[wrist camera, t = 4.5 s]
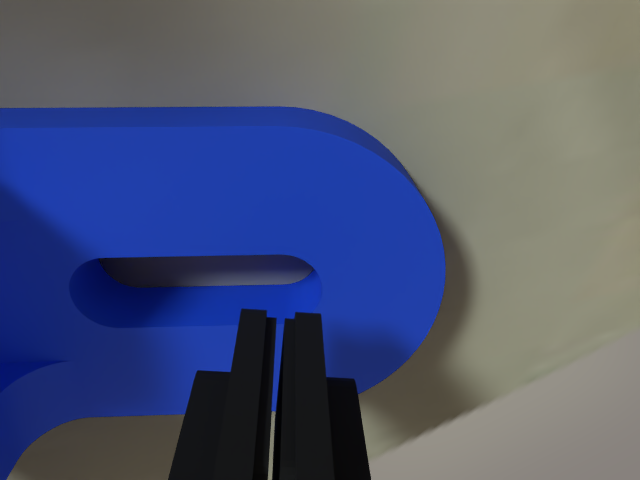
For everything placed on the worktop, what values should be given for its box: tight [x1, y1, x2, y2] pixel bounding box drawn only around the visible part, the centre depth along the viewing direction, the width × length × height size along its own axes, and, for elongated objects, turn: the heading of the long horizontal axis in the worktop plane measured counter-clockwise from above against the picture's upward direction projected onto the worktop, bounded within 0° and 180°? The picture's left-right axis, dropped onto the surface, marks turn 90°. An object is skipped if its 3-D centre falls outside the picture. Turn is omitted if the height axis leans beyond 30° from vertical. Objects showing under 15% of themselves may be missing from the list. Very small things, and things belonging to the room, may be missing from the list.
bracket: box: [0, 107, 445, 480], centre depth 10 cm, size 18×8×9 cm, turn 90°
